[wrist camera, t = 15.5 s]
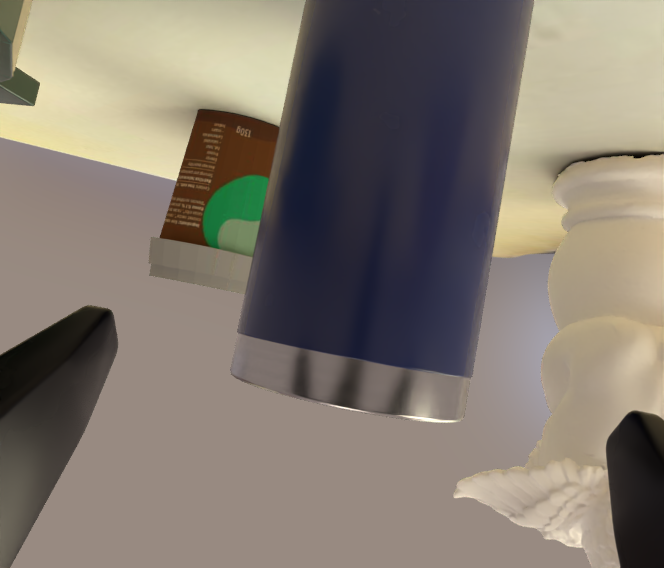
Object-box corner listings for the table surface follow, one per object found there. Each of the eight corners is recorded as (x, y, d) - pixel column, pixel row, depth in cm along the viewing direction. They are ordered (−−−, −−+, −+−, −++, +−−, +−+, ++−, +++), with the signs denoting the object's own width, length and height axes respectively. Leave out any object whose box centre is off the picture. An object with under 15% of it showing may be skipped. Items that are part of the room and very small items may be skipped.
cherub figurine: (626, 217, 35) (578, 557, 33) (458, 170, 33) (394, 536, 31) (838, 171, 24) (783, 692, 22) (601, 91, 21) (513, 679, 19)
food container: (358, 179, 38) (331, 315, 38) (283, 174, 41) (257, 302, 40) (278, 97, 27) (238, 290, 26) (182, 97, 30) (142, 273, 29)
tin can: (276, -97, 15) (176, 366, 13) (520, -166, 11) (417, 432, 10) (371, 38, 20) (306, 373, 19) (553, 16, 17) (488, 417, 16)
